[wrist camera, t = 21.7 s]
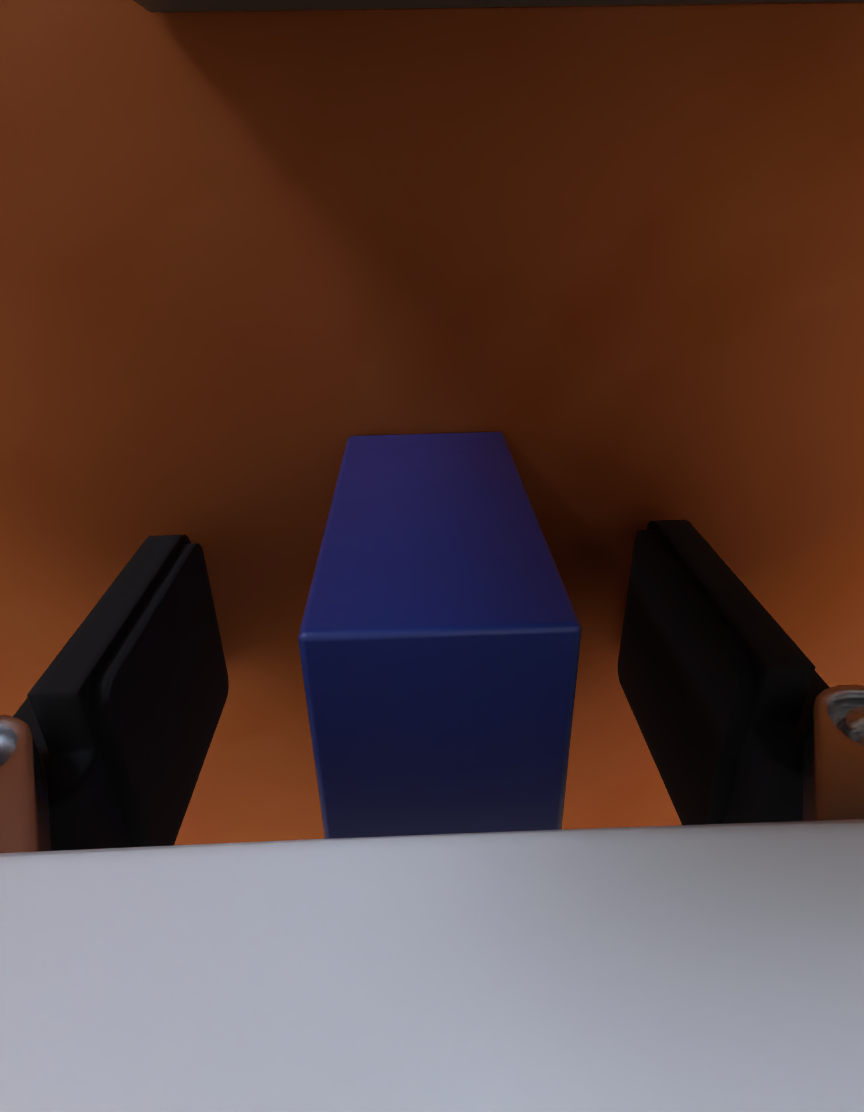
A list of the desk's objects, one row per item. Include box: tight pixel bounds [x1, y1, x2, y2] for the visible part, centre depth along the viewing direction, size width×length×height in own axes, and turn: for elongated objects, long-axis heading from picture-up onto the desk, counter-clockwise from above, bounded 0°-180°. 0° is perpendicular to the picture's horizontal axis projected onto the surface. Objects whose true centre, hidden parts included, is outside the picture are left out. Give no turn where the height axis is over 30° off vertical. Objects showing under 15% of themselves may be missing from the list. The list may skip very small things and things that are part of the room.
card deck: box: [298, 432, 582, 839], centre depth 9 cm, size 6×2×5 cm, turn 1°
